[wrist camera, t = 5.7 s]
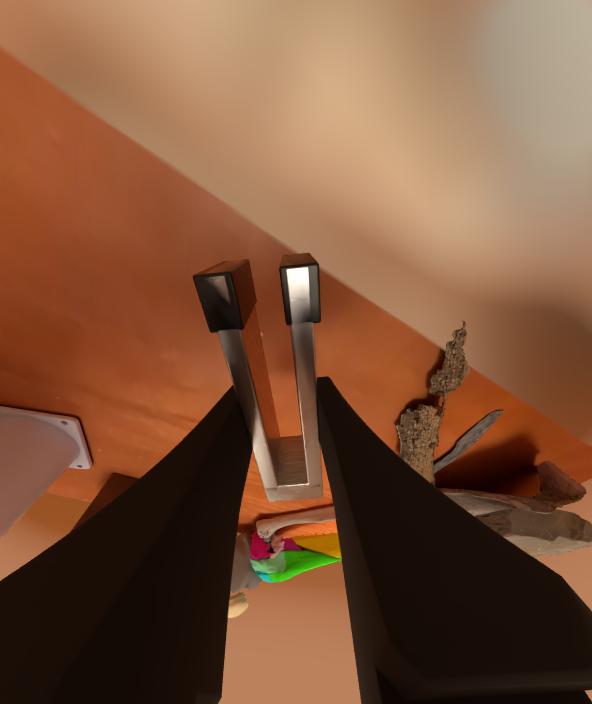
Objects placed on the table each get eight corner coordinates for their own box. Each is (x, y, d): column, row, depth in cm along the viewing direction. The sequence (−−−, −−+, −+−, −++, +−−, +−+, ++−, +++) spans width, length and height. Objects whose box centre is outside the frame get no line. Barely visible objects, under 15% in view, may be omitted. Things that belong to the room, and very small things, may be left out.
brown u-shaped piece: (320, 448, 13) (327, 498, 11) (268, 452, 13) (263, 503, 11) (309, 252, 8) (319, 262, 5) (221, 261, 8) (190, 275, 5)
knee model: (399, 593, 26) (216, 631, 29) (374, 518, 33) (229, 553, 36) (388, 562, 22) (177, 609, 25) (362, 484, 30) (201, 527, 32)
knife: (377, 485, 28) (394, 494, 29) (379, 491, 27) (396, 499, 28) (496, 405, 22) (513, 418, 22) (502, 409, 21) (519, 423, 22)
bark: (411, 321, 17) (422, 331, 15) (478, 317, 16) (499, 327, 14) (384, 496, 28) (389, 515, 26) (424, 498, 27) (431, 517, 25)
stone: (604, 544, 17) (538, 478, 21) (453, 585, 23) (423, 526, 26) (614, 538, 25) (565, 491, 29) (500, 570, 30) (471, 526, 34)
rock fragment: (536, 436, 22) (601, 496, 17) (553, 475, 29) (600, 523, 25) (405, 489, 27) (429, 544, 23) (449, 510, 35) (473, 554, 31)
